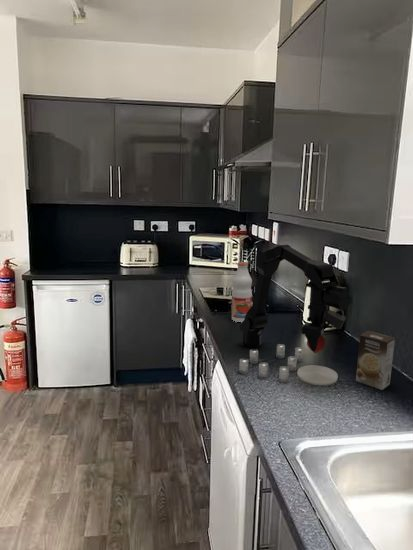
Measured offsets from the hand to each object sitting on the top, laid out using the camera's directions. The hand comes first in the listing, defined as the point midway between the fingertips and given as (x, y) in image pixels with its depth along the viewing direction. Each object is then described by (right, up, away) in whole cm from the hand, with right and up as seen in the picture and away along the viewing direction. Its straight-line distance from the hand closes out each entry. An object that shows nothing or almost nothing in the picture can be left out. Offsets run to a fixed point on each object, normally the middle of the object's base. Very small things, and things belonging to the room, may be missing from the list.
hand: (315, 347), depth 139 cm
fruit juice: (-20, +2, +61) cm, 64 cm away
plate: (+1, -10, +1) cm, 10 cm away
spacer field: (-13, -8, +9) cm, 18 cm away
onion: (0, -2, 0) cm, 2 cm away
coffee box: (+18, -11, -3) cm, 21 cm away
